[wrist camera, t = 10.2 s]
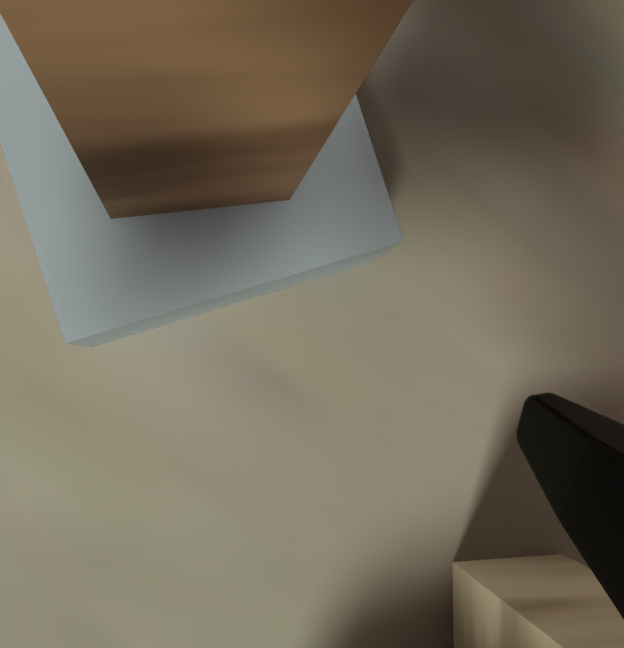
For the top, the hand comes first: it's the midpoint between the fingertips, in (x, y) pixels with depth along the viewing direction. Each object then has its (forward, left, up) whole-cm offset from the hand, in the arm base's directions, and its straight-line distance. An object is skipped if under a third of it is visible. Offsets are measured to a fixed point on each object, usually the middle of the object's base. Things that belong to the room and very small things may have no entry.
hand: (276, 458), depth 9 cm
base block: (+9, +1, -13) cm, 16 cm away
